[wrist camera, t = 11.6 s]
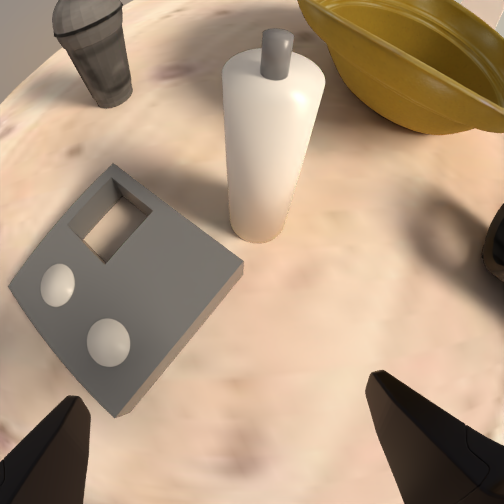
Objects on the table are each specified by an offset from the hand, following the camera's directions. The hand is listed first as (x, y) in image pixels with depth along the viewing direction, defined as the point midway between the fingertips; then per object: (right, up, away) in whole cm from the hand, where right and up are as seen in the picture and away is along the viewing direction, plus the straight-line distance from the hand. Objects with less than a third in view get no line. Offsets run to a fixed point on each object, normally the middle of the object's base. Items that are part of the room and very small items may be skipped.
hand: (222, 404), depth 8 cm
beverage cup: (-15, +23, +22) cm, 35 cm away
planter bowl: (+19, +24, +24) cm, 39 cm away
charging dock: (-9, +2, +14) cm, 17 cm away
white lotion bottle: (+1, +7, +16) cm, 18 cm away
